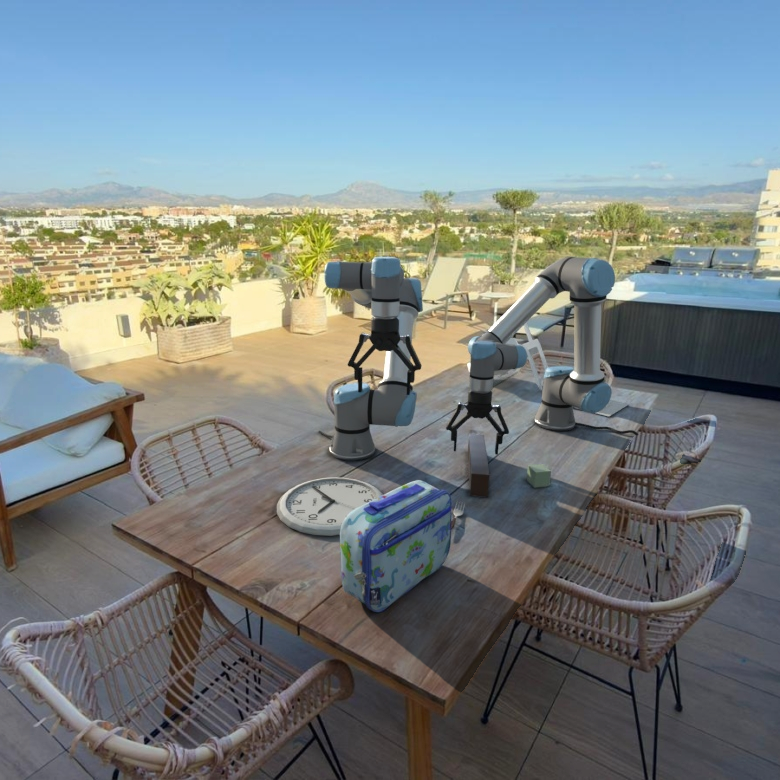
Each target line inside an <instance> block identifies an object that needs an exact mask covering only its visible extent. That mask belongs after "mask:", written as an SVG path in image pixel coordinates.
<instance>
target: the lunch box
mask: <svg viewBox="0 0 780 780" xmlns="http://www.w3.org/2000/svg"><path fill="white" fill-rule="evenodd" d="M383 494H384V495H382V496H380V497H378V498H376V499H374V500H372V501H370V502H368V503H366V504H364V505H362V506H360V507H358V508H356V509H354V510H353V511H351V512H350V513H349V514H348V515H347V516H346V518H345V519H344V521H343V523H342V526H341V530H340V535H339V551H340V574H341V576H340V577H341V585H342V588H343V589H342V590H343V591H344V593H346V594H348V595H350V596H352V597H353V598H355V599H357V600H358V601H359V602H361V603H362V604H364V605H365V606H366V608H367V609H369V610H370V611H371V612H374V613H381V612H384V611H385V610H386V609H387V608H389V607H390V606H391V605H392V604H393V603H395V602H396V601H397V600H399V599H400V598H401V597H402V596H404V595H405V594H407V593H408V592H410V591H411V590H412V589H413V588H415V587H416V586H417V585H418V584H419V583H420V582H421V581H423V580H425V579H426V578H427V577H429V576H430V575H432V574H434V573H435V572H436V571H438V570H439V569H440V568H441V567H442V566H443V565H444V563H445V562H446V560H447V558H448V556H449V553H450V550H451V549H450V548H451V545H452V543H451V542H452V530H451V522H452V497H451V494H450V492H449V491H448V490H446V489H438V488H437V487H435V486H434V485H431V484H429V483H427V482H426V481H424V480H421V479H416V480H413V481H410V482H408V483H405V484H403V485H401V486H399V487H397V488H394V489H393V490H390V491H388V492H387V493H383Z"/></svg>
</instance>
